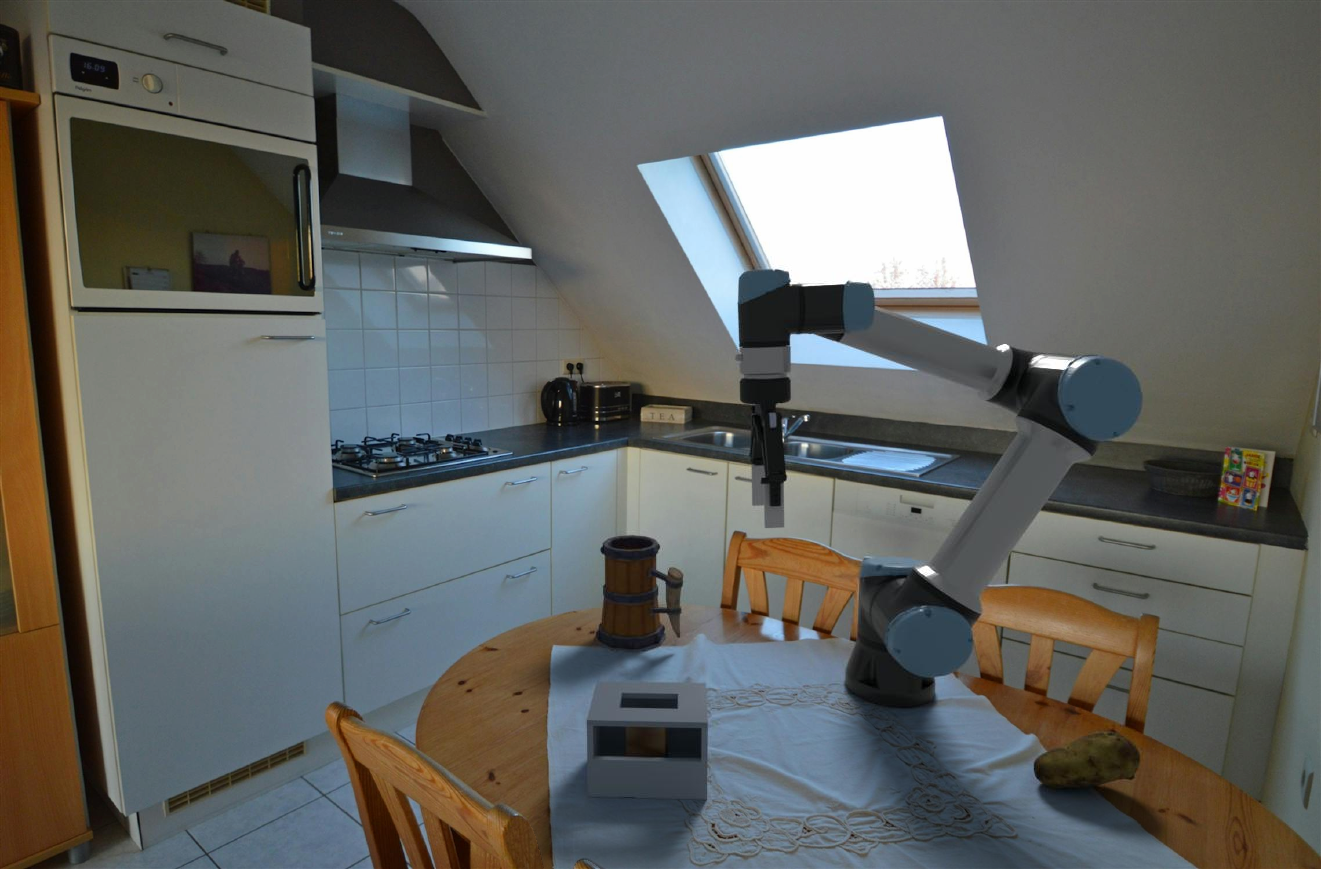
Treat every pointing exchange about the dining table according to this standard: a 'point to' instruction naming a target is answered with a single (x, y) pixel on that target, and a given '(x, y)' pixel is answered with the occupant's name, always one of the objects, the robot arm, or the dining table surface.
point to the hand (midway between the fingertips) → (767, 515)
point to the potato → (1088, 761)
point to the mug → (636, 595)
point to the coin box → (648, 708)
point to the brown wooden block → (647, 742)
